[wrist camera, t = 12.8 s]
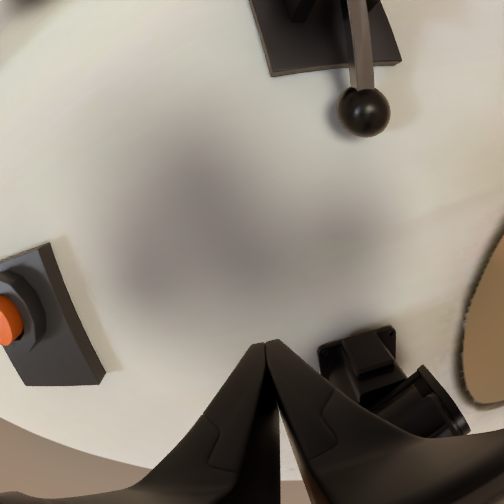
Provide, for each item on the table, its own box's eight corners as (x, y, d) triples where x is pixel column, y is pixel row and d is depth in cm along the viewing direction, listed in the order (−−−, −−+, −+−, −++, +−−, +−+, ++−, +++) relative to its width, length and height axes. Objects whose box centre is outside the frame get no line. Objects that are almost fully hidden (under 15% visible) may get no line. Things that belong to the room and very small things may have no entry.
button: (30, 333, 19) (19, 344, 17) (5, 337, 19) (-6, 347, 17) (11, 291, 18) (-2, 300, 16) (-13, 298, 18) (-25, 306, 16)
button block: (106, 373, 23) (92, 398, 20) (33, 376, 24) (17, 396, 20) (49, 242, 20) (23, 255, 16) (-18, 268, 20) (-41, 281, 17)
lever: (375, 122, 18) (399, 142, 16) (331, 128, 18) (350, 149, 16) (353, -65, 9) (379, -75, 7) (299, -67, 9) (318, -81, 7)
